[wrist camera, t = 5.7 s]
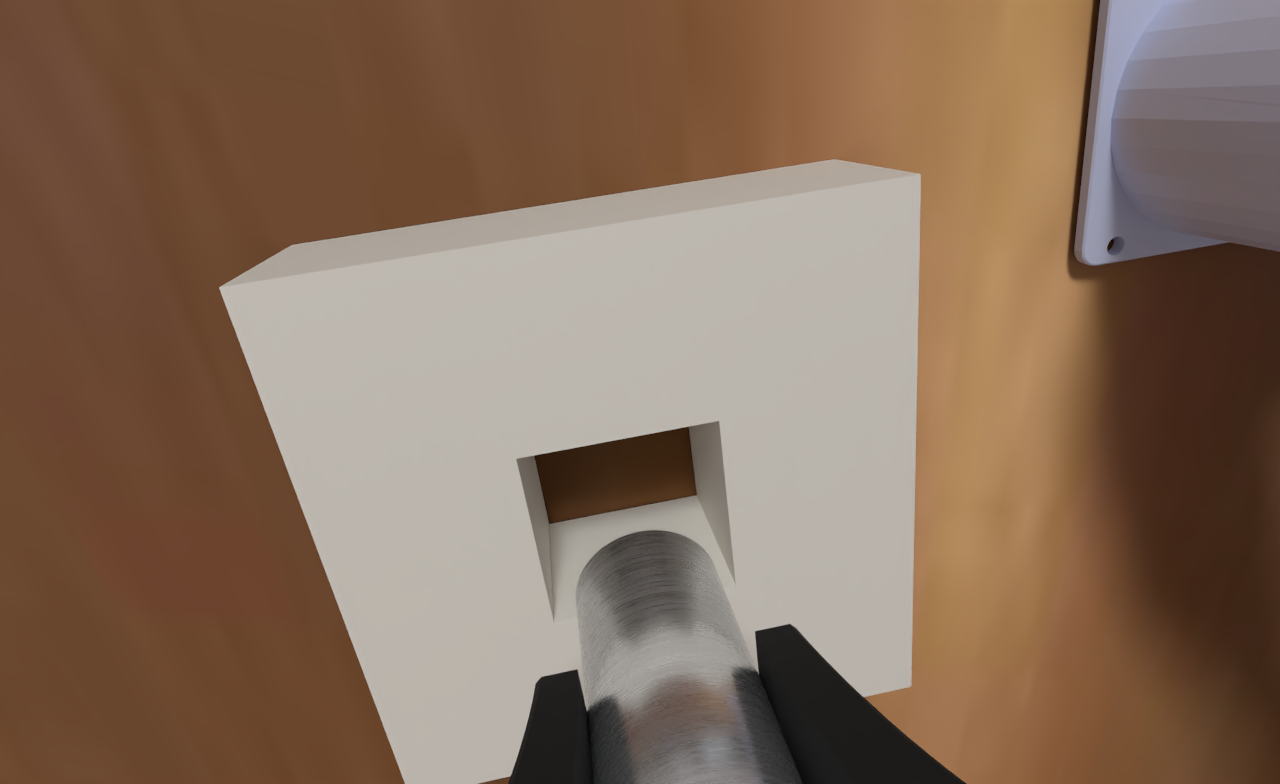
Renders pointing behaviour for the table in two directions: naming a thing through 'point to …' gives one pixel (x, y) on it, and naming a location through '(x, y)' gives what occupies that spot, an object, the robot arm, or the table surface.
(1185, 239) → the robot arm
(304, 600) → the table surface
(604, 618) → the tall steel pin
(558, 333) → the hole block
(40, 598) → the table surface
